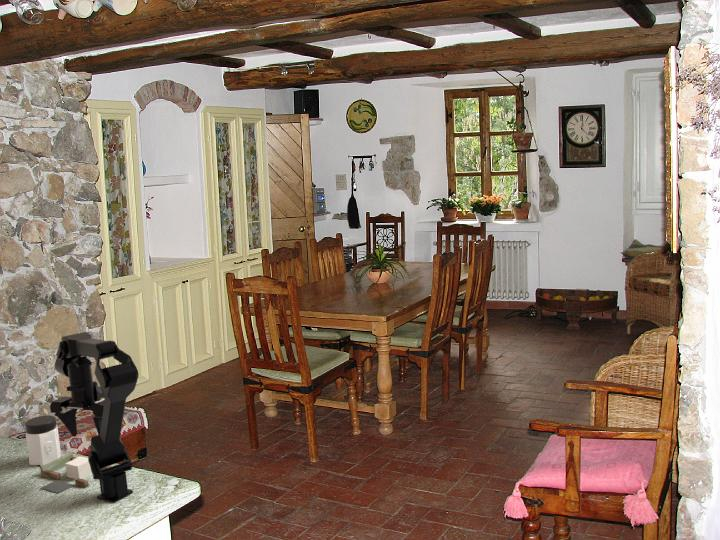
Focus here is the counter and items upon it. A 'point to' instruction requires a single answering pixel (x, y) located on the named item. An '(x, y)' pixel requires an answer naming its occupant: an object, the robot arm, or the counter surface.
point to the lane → (50, 467)
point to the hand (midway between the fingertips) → (88, 437)
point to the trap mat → (57, 486)
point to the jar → (42, 440)
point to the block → (78, 468)
